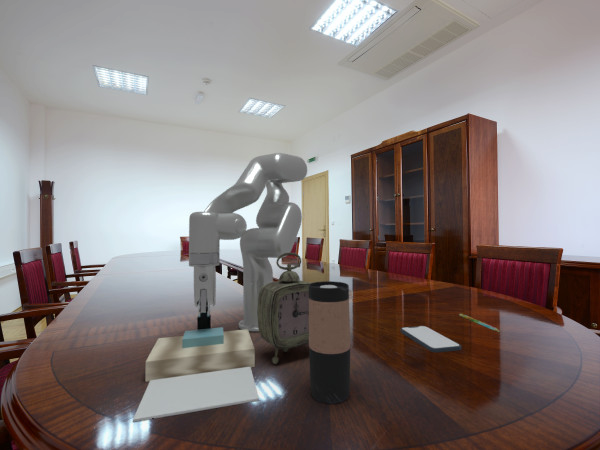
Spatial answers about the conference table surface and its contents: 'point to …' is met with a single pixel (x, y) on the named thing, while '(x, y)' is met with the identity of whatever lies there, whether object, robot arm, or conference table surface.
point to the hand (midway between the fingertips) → (204, 331)
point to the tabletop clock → (284, 310)
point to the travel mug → (329, 341)
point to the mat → (197, 393)
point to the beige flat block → (199, 356)
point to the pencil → (479, 322)
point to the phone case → (430, 339)
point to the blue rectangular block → (203, 337)
